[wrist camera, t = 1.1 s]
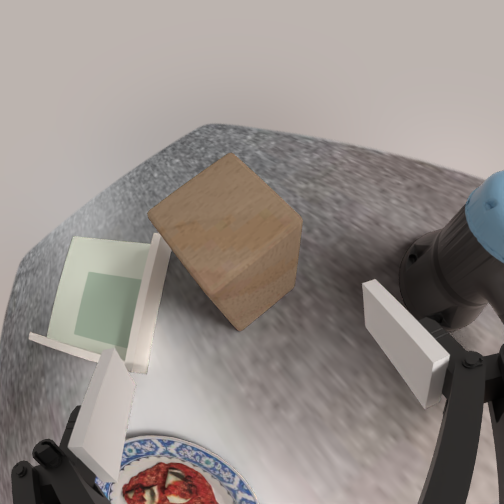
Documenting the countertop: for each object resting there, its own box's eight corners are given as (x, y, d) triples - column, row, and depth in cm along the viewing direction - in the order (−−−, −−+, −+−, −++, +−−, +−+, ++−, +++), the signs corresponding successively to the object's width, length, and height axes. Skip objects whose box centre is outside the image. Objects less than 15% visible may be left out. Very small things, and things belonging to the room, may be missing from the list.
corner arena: (172, 247, 49) (161, 233, 44) (146, 373, 42) (131, 372, 37) (74, 237, 51) (59, 225, 47) (47, 344, 44) (28, 339, 40)
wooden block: (296, 286, 45) (305, 218, 26) (239, 333, 43) (207, 296, 25) (250, 237, 48) (231, 148, 30) (196, 279, 46) (143, 211, 28)
